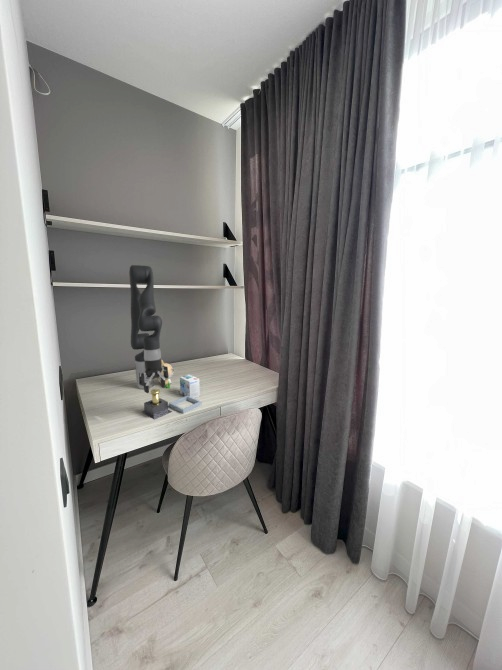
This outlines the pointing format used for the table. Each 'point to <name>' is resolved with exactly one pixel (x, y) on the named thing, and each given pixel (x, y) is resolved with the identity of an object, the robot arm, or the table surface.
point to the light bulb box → (189, 386)
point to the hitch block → (156, 409)
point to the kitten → (170, 373)
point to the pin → (155, 396)
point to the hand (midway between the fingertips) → (155, 389)
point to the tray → (197, 404)
